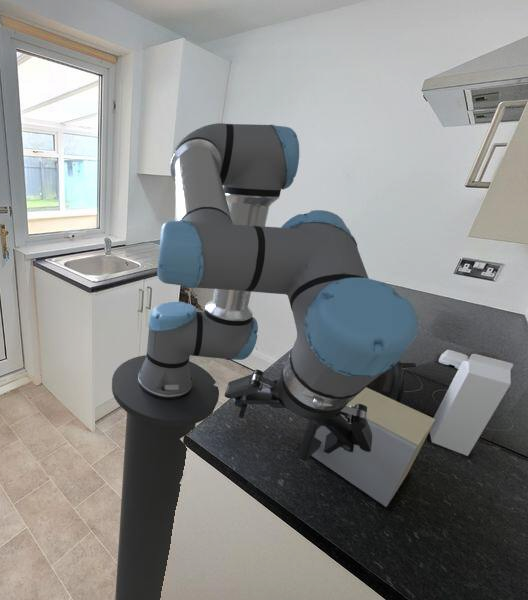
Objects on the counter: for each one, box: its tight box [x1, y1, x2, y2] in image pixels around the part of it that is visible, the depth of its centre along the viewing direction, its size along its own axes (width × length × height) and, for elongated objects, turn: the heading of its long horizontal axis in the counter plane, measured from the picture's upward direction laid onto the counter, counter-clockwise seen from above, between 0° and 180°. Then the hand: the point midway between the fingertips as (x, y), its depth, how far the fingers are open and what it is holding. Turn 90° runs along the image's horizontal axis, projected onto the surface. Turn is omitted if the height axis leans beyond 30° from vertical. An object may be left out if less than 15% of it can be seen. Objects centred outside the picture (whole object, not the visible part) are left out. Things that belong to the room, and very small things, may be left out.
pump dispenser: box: [366, 359, 417, 403], centre depth 80 cm, size 10×10×15 cm
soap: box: [438, 349, 469, 370], centre depth 104 cm, size 9×7×3 cm
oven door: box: [297, 414, 417, 508], centre depth 57 cm, size 7×15×14 cm, turn 35°
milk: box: [429, 353, 514, 457], centre depth 67 cm, size 6×6×22 cm
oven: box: [346, 387, 436, 502], centre depth 62 cm, size 11×15×14 cm
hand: (282, 426), depth 54 cm, fingers open, 13 cm apart
